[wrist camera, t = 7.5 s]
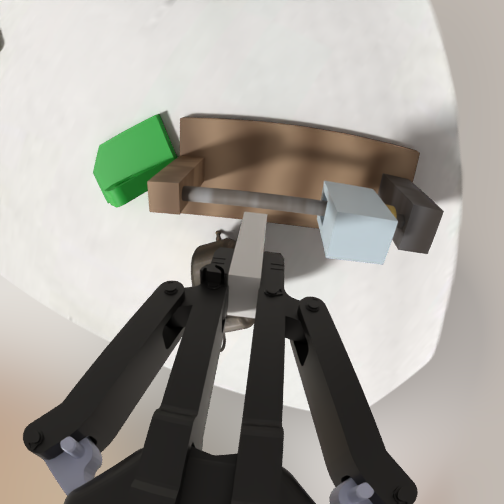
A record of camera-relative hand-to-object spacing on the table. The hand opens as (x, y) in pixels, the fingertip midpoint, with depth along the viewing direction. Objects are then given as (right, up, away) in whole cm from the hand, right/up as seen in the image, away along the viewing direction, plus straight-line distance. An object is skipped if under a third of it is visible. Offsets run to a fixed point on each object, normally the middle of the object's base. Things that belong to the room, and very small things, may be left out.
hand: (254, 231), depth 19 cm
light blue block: (+9, +3, +7) cm, 12 cm away
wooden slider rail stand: (+5, +8, +13) cm, 16 cm away
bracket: (-16, +11, +14) cm, 24 cm away
